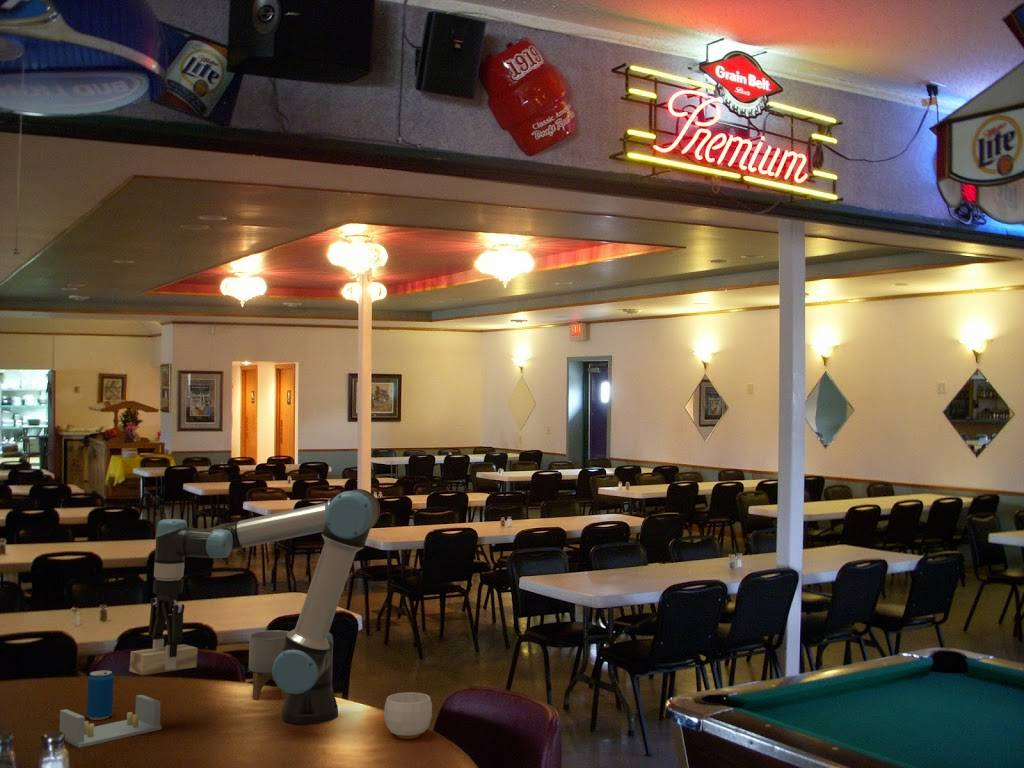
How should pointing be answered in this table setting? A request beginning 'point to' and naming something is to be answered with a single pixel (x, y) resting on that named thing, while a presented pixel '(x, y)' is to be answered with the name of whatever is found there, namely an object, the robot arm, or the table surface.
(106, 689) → the beverage can
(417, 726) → the cup
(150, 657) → the shelf board
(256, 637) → the planter
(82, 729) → the peg frame
